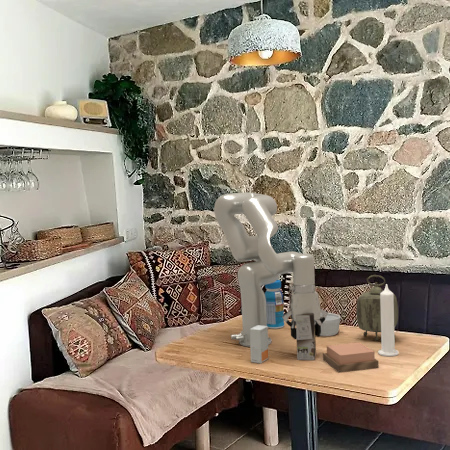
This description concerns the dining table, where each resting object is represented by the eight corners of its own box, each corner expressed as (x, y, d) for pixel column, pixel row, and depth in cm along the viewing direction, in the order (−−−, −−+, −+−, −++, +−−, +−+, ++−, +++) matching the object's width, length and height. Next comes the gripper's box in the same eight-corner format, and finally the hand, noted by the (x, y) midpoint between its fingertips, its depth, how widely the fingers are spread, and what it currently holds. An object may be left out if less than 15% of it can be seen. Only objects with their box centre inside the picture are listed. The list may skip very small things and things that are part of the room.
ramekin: (341, 329, 248) (340, 312, 247) (340, 337, 235) (339, 320, 235) (309, 328, 251) (308, 312, 250) (306, 337, 238) (305, 320, 238)
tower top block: (340, 364, 195) (340, 355, 195) (326, 354, 207) (326, 345, 207) (374, 360, 198) (374, 351, 198) (359, 350, 209) (358, 342, 209)
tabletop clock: (398, 337, 231) (397, 273, 229) (394, 344, 223) (392, 278, 221) (361, 334, 238) (360, 272, 236) (355, 340, 230) (353, 276, 228)
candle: (399, 351, 214) (397, 282, 212) (398, 357, 207) (396, 286, 205) (378, 350, 216) (377, 282, 214) (377, 355, 210) (375, 285, 208)
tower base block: (338, 374, 195) (338, 365, 194) (323, 361, 208) (323, 353, 208) (378, 369, 197) (378, 360, 197) (360, 357, 211) (360, 349, 211)
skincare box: (261, 363, 207) (259, 330, 206) (250, 362, 210) (249, 328, 209) (269, 358, 212) (268, 325, 211) (258, 357, 215) (257, 324, 214)
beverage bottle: (264, 329, 253) (262, 282, 251) (266, 324, 261) (264, 279, 260) (284, 329, 252) (282, 282, 250) (285, 324, 260) (283, 278, 258)
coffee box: (315, 360, 208) (313, 314, 207) (296, 360, 209) (295, 314, 208) (316, 352, 217) (315, 308, 216) (298, 352, 218) (297, 308, 217)
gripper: (283, 292, 206) (285, 342, 207) (331, 288, 209) (333, 337, 211) (277, 289, 213) (279, 336, 215) (323, 284, 217) (325, 332, 218)
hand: (306, 336), depth 213 cm, fingers closed on coffee box, 8 cm apart
